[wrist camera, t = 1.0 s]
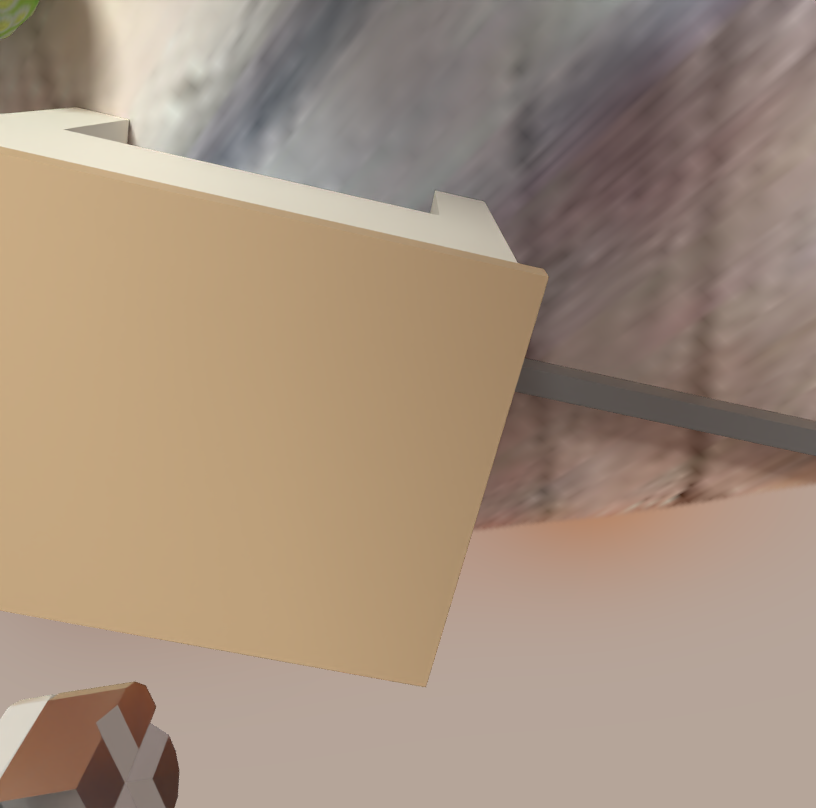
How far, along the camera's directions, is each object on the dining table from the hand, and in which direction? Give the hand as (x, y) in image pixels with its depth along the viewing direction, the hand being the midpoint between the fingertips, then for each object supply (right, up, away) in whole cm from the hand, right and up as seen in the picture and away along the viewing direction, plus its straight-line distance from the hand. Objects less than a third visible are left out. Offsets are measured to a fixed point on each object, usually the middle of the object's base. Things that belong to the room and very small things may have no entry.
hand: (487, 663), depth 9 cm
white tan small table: (-10, +9, +39) cm, 42 cm away
